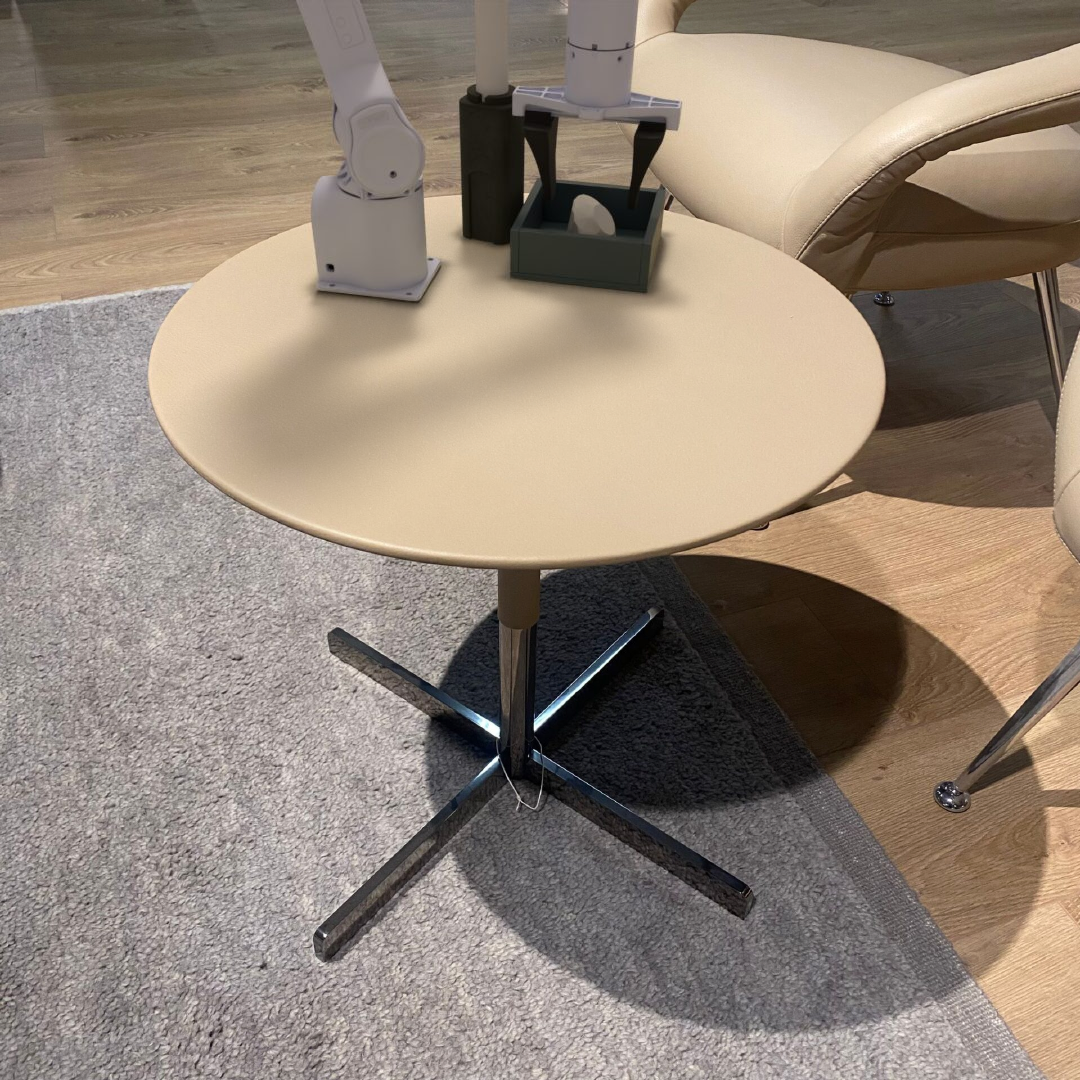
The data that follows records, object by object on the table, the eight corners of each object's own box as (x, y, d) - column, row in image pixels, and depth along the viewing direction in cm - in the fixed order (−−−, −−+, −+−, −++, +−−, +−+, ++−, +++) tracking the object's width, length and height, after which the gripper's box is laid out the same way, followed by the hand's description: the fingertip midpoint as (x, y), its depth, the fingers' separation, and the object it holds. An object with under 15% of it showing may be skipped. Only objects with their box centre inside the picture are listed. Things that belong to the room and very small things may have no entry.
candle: (527, 227, 102) (532, -59, 85) (505, 247, 98) (505, -48, 82) (481, 217, 103) (477, -66, 87) (458, 236, 100) (449, -55, 83)
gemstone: (552, 202, 98) (592, 176, 95) (591, 250, 101) (631, 227, 98) (535, 237, 94) (575, 211, 91) (576, 286, 97) (616, 263, 94)
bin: (509, 278, 93) (510, 230, 90) (536, 222, 103) (537, 177, 100) (647, 293, 92) (651, 244, 89) (661, 235, 101) (665, 189, 98)
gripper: (505, 47, 83) (504, 209, 91) (683, 62, 81) (665, 227, 90) (522, 25, 88) (520, 180, 97) (690, 39, 86) (672, 196, 95)
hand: (590, 201), depth 94 cm, fingers open, 7 cm apart
